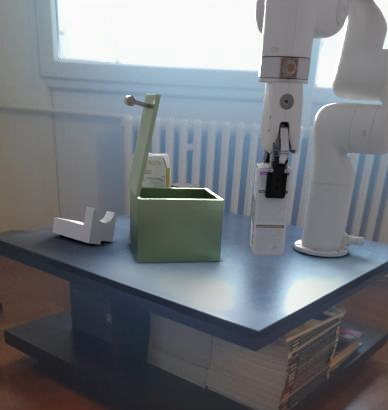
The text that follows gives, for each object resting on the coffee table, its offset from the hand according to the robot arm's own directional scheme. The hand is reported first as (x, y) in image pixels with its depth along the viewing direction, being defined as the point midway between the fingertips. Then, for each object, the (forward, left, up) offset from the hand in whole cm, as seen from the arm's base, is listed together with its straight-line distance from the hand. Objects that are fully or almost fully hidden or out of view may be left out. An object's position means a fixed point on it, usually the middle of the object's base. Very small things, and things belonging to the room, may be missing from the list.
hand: (271, 193), depth 84 cm
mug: (+14, -53, -17) cm, 57 cm away
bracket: (+37, -32, -17) cm, 52 cm away
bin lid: (+23, -21, +5) cm, 31 cm away
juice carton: (+22, -38, -17) cm, 48 cm away
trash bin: (+16, -23, -17) cm, 33 cm away
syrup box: (0, 0, -10) cm, 10 cm away
